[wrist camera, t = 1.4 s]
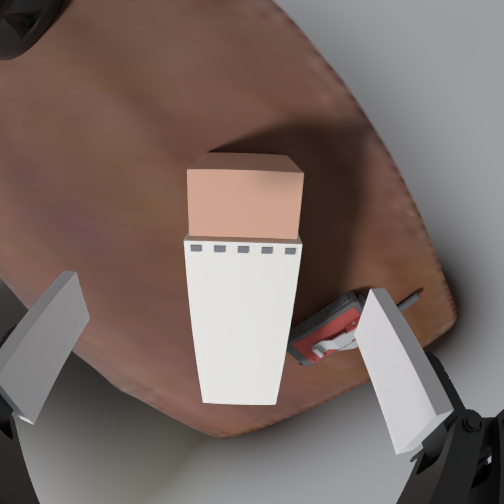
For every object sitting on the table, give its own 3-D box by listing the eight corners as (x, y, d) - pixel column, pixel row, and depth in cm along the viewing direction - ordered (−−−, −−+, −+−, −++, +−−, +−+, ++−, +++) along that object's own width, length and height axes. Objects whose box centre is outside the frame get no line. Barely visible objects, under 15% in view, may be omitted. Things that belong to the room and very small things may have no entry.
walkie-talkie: (307, 364, 42) (417, 293, 36) (311, 385, 38) (430, 312, 32) (273, 335, 38) (396, 252, 33) (275, 358, 34) (412, 270, 29)
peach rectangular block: (205, 152, 27) (187, 169, 19) (287, 155, 27) (304, 173, 19) (205, 200, 29) (189, 235, 21) (283, 202, 29) (297, 239, 21)
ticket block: (201, 204, 29) (183, 241, 21) (288, 206, 30) (303, 245, 21) (209, 352, 39) (202, 403, 31) (272, 353, 40) (276, 405, 31)
